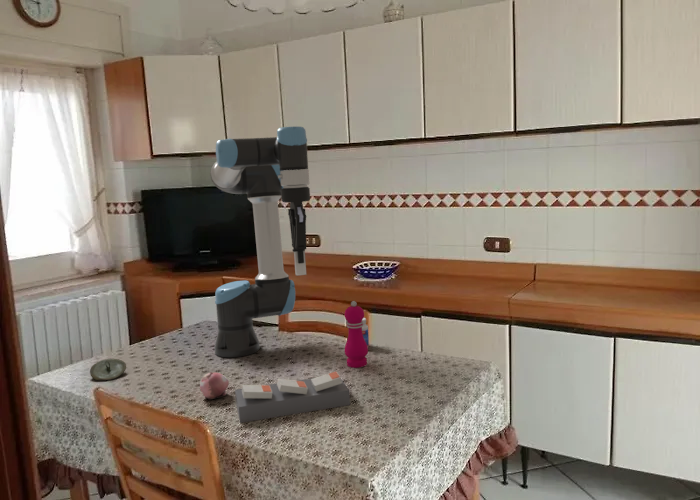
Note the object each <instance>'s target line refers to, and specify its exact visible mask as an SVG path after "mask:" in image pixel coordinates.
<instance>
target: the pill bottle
mask: <svg viewBox="0 0 700 500" xmlns="http://www.w3.org/2000/svg"><path fill="white" fill-rule="evenodd" d="M362 321H363V326H362V334H363V338H364V340H365V342H366V344H367V347H368V348H369V346H370V342H369V338H370V337H369V336H370V335H369V326H368V324H366V323H367V318H366V317H364V318H363V319H362Z"/></svg>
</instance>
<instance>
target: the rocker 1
mask: <svg viewBox="0 0 700 500" xmlns="http://www.w3.org/2000/svg"><path fill="white" fill-rule="evenodd" d="M241 389H242V394H243V398H269V399H272V390H271V387H270V384H242V385H241Z"/></svg>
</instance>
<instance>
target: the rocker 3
mask: <svg viewBox="0 0 700 500" xmlns="http://www.w3.org/2000/svg"><path fill="white" fill-rule="evenodd" d="M310 379H311V378H310ZM341 379H342V378H341V375H340V374H339V373H338V372H337V371H335V370H334V371H332V372H329V373H326V374H322V375H319V376H317V377H313V379H311V382H312V385H313V387H314V389H315V390H316V392H317V391H320V390H323V389H326V388H329V387H332V386H335V385H338V384H341V383H342V381H343V379H342V380H341Z"/></svg>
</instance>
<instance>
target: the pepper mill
mask: <svg viewBox="0 0 700 500" xmlns="http://www.w3.org/2000/svg"><path fill="white" fill-rule="evenodd" d="M363 318H365V311H364V309H363V308H362V307H361V306H359V305H358V304H357V302H356V301H355V300H353V301H351V302H350V306H348V307H347V308H346V309H345V310H344V319H345V320H346V321H347V322H346V328H348V329H347V330H348V334H347V335H348V336H347V339H346V342H345V345H344V354H345V357H347V358H346V366H347V367H349V368H351V369H353V368H354V369H358V368H364V367H366V366H367V365H368V358H367V355H368V353H369V347H367V344H366V342H365V340H364V338H363V334H362V326H363V321H362V319H363Z"/></svg>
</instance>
